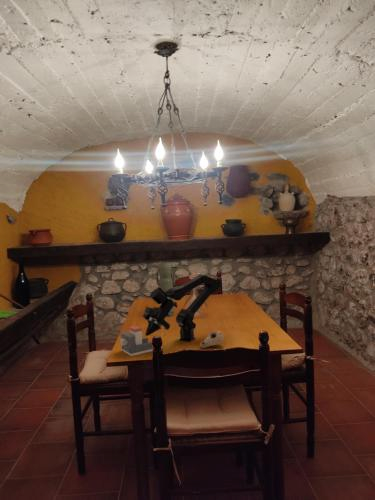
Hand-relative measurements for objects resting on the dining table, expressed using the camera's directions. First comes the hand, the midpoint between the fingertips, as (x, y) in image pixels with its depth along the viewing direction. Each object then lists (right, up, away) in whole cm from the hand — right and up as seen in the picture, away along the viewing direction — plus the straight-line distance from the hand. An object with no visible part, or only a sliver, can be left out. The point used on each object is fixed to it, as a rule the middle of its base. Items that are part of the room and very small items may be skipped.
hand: (146, 335), depth 203 cm
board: (-4, -7, -2) cm, 8 cm away
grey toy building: (-3, -6, -2) cm, 7 cm away
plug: (-7, -6, -4) cm, 10 cm away
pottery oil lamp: (+32, -6, +1) cm, 33 cm away
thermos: (+7, -1, +69) cm, 69 cm away
